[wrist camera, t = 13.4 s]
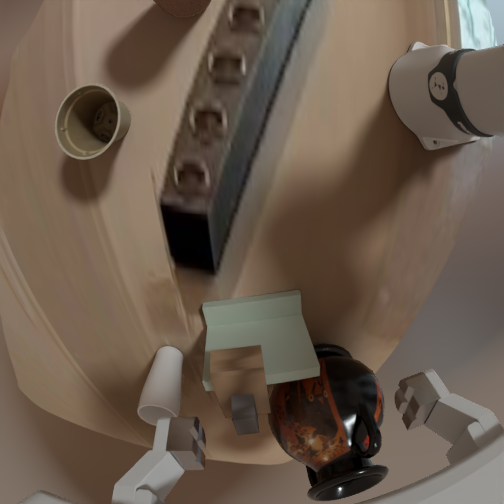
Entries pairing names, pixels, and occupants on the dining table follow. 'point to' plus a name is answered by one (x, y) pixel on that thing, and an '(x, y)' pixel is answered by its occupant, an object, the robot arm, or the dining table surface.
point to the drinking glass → (162, 387)
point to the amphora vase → (332, 424)
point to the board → (263, 334)
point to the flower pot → (90, 121)
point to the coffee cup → (183, 7)
